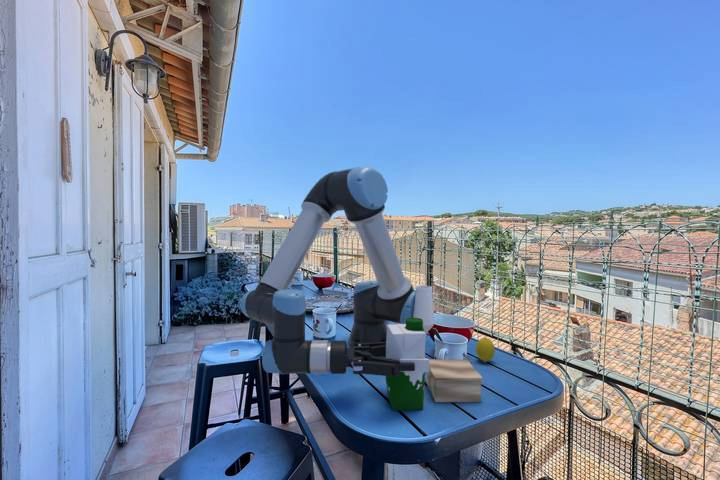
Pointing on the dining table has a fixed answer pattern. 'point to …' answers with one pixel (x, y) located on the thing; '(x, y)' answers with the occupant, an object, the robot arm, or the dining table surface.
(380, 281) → the robot arm
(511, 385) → the dining table surface
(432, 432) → the dining table surface
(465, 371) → the oak riser
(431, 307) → the champagne flute
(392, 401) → the fresh milk carton
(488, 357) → the lemon
